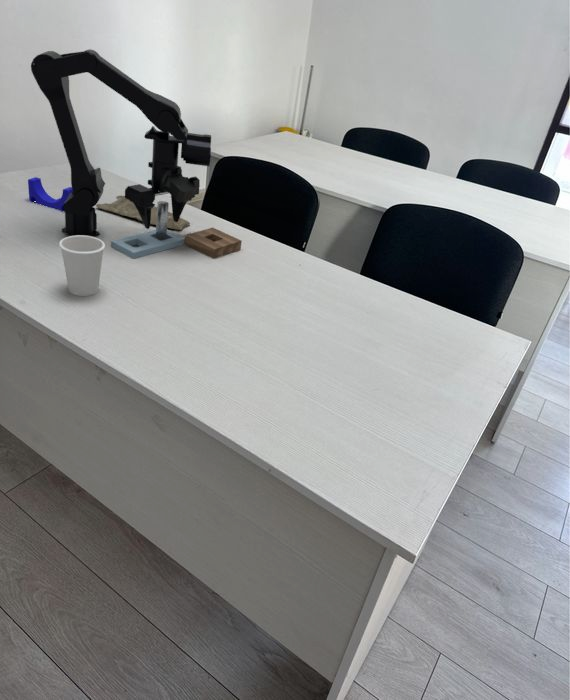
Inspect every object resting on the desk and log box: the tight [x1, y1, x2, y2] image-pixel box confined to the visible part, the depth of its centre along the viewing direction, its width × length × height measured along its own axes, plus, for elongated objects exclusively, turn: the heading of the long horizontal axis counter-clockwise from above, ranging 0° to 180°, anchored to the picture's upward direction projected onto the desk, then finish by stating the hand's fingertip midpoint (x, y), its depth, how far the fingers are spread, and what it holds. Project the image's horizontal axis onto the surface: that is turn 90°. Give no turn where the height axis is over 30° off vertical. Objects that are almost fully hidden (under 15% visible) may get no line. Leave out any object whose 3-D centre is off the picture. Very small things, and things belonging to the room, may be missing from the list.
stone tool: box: [95, 195, 191, 231], centre depth 156 cm, size 11×3×25 cm
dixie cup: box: [58, 235, 106, 297], centre depth 115 cm, size 8×8×10 cm
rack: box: [110, 229, 185, 259], centre depth 140 cm, size 16×8×2 cm, turn 143°
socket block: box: [184, 227, 243, 259], centre depth 145 cm, size 10×10×2 cm
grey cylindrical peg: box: [155, 200, 169, 241], centre depth 141 cm, size 3×3×10 cm
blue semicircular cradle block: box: [27, 176, 72, 213], centre depth 152 cm, size 12×4×6 cm, turn 71°
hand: (161, 224), depth 141 cm, fingers open, 9 cm apart
